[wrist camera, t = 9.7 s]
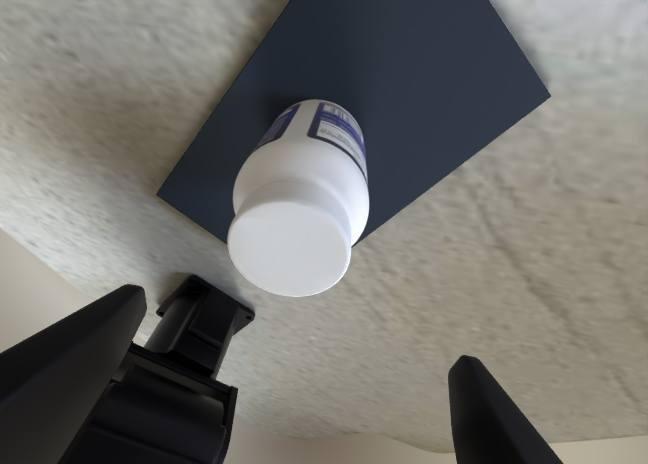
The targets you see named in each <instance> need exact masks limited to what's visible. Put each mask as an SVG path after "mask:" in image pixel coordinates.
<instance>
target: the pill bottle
mask: <svg viewBox="0 0 648 464" xmlns="http://www.w3.org/2000/svg"><path fill="white" fill-rule="evenodd" d="M233 206H234V211H235V215H236V216H235V218H234V219H233V221H232V223H231V226H230V228H229V232H228V238H227V244H228V251H229V255H230V257H231V260H232V262H233V264H234V265H235V267H236V268H237V270H238V271H239V272H240V273H241V274H242V275H243V276H244V277H245V278H246V279H247V280H248V281H250V282H251V283H252V284H254V285H256V286H257V287H259V288H261V289H263V290H265V291H268V292H270V293H273V294H277V295H282V296H290V297H302V296H309V295H314V294H317V293H320V292H322V291H325V290H327V289H329V288H330V287H332V286H333V285H334V284H336V283H337V282H338V281H339V280H340V279H341V278H342V276H343V275H344V273H345V272H346V270H347V268H348V265H349V262H350V257H351V246H352V245H353V244H354V243H355V242H356V241H357V240H358V238H359V237H360V235H361V234H362V232H363V230H364V228H365V225H366V222H367V219H368V213H369V190H368V182H367V168H366V156H365V144H364V139H363V135H362V132H361V129H360V127H359V125H358V123H357V122H356V120H355V119H354V118H353V117H352V115H351V114H350V113H349V112H347V111H346V110H345V109H344V108H342V107H341V106H339V105H337V104H335V103H332V102H329V101H325V100H316V99H315V100H306V101H302V102H299V103H296V104H294V105H292V106H291V107H289V108H288V109H286V110H285V111H284V112H283V113H282V114H280V115H279V117H278V118H277V119H276V120H275V122H274V123H273V124H272V126H271V127H270V128H269V130H268V131H267V133H266V134H265V135H264V137H263V138H262V139H261V141H260V142H259V143H258V145H257V146H256V148H255V149H254V150H253V152H252V153H251V154H250V156H249V157H248V158H247V160H246V161H245V163H244V164H243V166H242V168H241V170H240V172H239V174H238V176H237V178H236V181H235V185H234V190H233Z"/></svg>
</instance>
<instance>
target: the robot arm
mask: <svg viewBox="0 0 648 464" xmlns="http://www.w3.org/2000/svg"><path fill="white" fill-rule="evenodd" d="M146 310H147V304H146V298H145V292H144V289H143V288H142V287H141V286H136V285H132V284H126V285H123V286H121V287H120V288H118V289H116V290H114V291H112V292H111V293H109V294H107V295H105V296H103V297H101V298H100V299H98V300H96V301H94V302H92V303H91V304H89V305H87V306H85V307H83V308H81V309H80V310H78V311H76V312H74V313H73V314H71V315H69V316H67V317H65V318H63V319H62V320H60V321H58V322H56V323H54V324H52V325H51V326H49V327H47V328H45V329H44V330H42V331H40V332H38V333H36V334H34V335H33V336H31V337H29V338H27V339H25V340H23V341H22V342H20V343H18V344H16V345H14V346H13V347H11V348H9V349H7V350H5V351H3V352H2V353H0V464H223V462H224V459H225V456H226V453H227V450H228V446H229V442H230V436H231V431H232V424H233V418H234V412H235V406H236V399H237V393H238V388H236V387H234V386H228V385H226V384H224V383H221V382H219V381H217V380H215V379H216V377H217V374H218V372H219V369H220V367H221V364H222V361H223V359H224V356H225V354H226V351H227V348H228V346H229V343H230V341H231V338H232V336H233V335H235V334H236V333H237V332H238V331H240V330H241V329H242V328H244V327H245V326H246V325H248V324H249V323H250V322H252V321H253V320H254V317H255V313H254V312H253V311H252V310H250V309H249V308H247V307H245V306H244V305H242V304H241V303H239V302H238V301H236V300H234V299H233V298H231V297H230V296H228V295H227V294H225V293H223V292H222V291H220V290H219V289H217V288H216V287H214V286H212V285H211V284H209V283H208V282H206V281H204V280H203V279H201V278H200V277H198V276H196V275H189V276H188V277H187V278H186V279H185V280H184V281H183V282H182V284H181V285H180V286H179V287H178V288H177V289H176V290H175V291H174V292H173V293H172V294H171V295H170V296H169V297H168V298H167V299H166V300H165V301H164V302H163V304H162V305H161V306H160V307H159V308H158V309H157V311H156V314H157V315H158V316H160V317H162V319H161V321H160V322H159V324H158V325H157V327H156V329H155V330H154V332H153V333H152V335H151V336H150V338H149V340H148V341H147V343H146V344H145V346H144V347H141V346H139V345H137V344H135V343H133V341H132V340H133V338H134V336H135V334H136V332H137V330H138V328H139V326H140V324H141V322H142V320H143V318H144V316H145V314H146ZM448 384H449V398H450V413H451V426H452V435H453V442H454V448H455V453H456V460H457V464H563V462H562V461H561V460H560V459H559V458H558V456H557V455H556V454H555V453H554V451H553V450H552V449H551V448H550V446H549V445H548V444H547V443H546V441H545V440H544V439H543V438H542V437H541V435H540V434H539V433H538V432H537V430H536V429H535V428H534V427H533V425H532V424H531V423H530V422H529V420H528V419H527V418H526V417H525V416H524V414H523V413H522V412H521V411H520V409H519V408H518V407H517V406H516V404H515V403H514V402H513V401H512V399H511V398H510V397H509V396H508V395H507V393H506V392H505V391H504V390H503V388H502V387H501V386H500V385H499V383H498V382H497V381H496V380H495V378H494V377H493V376H492V375H491V374H490V372H489V371H488V370H487V369H486V367H485V366H484V365H483V364H482V362H481V361H480V360H479V359H478V358H476V357H472V356H467V355H462V356H461V357H460V358H459V359H458V360H457V361H456V363H455V364H454V365H453V366H452V368H451V369H450V371H449V374H448Z"/></svg>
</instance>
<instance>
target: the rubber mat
mask: <svg viewBox="0 0 648 464" xmlns="http://www.w3.org/2000/svg"><path fill="white" fill-rule="evenodd" d="M550 97H551V95H550V93H549V92H548V90H547V89H546V87H545V86H544V84H543V83H542V81H541V80H540V78H539V77H538V75H537V73H536V72H535V70H534V69H533V67H532V66H531V64H530V63H529V61H528V60H527V58H526V57H525V55H524V54H523V52H522V51H521V49H520V47H519V46H518V44H517V43H516V41H515V40H514V38H513V37H512V35H511V34H510V32H509V31H508V29H507V28H506V26H505V25H504V23H503V21H502V20H501V18H500V17H499V15H498V14H497V12H496V11H495V9H494V8H493V6H492V5H491V3H490V2H489V0H290V2H289V3H288V4H287V6H286V7H285V9H284V10H283V12H282V13H281V15H280V16H279V17H278V19H277V20H276V22H275V23H274V25H273V26H272V28H271V29H270V30H269V32H268V33H267V35H266V36H265V38H264V39H263V41H262V42H261V43H260V45H259V46H258V48H257V49H256V51H255V52H254V54H253V55H252V56H251V58H250V59H249V61H248V62H247V64H246V65H245V67H244V68H243V69H242V71H241V72H240V74H239V75H238V77H237V78H236V80H235V81H234V83H233V84H232V85H231V87H230V88H229V90H228V91H227V93H226V94H225V96H224V97H223V98H222V100H221V101H220V103H219V104H218V106H217V107H216V109H215V110H214V111H213V113H212V114H211V116H210V117H209V119H208V120H207V122H206V123H205V124H204V126H203V127H202V129H201V130H200V132H199V133H198V135H197V136H196V137H195V139H194V140H193V142H192V143H191V145H190V146H189V148H188V149H187V150H186V152H185V153H184V155H183V156H182V158H181V159H180V161H179V162H178V163H177V165H176V166H175V168H174V169H173V171H172V172H171V174H170V175H169V176H168V178H167V179H166V181H165V182H164V184H163V185H162V187H161V188H160V189H159V191H158V192H157V194H156V195H157V196H159V197H160V198H161V199H163V200H164V201H166V202H167V203H169V204H170V205H171V206H173V207H174V208H176V209H177V210H179V211H180V212H181V213H183V214H184V215H186V216H187V217H189V218H190V219H191V220H193V221H194V222H196V223H197V224H199V225H200V226H202V227H203V228H204V229H206V230H207V231H209V232H210V233H212V234H213V235H214V236H216V237H217V238H219V239H220V240H222V241H223V242H224V243H226V244H227V238H228V232H229V228H230V226H231V223H232V221H233V219H234V218H235V216H236V215H235V211H234V206H233V190H234V185H235V181H236V178H237V176H238V174H239V172H240V170H241V168H242V166H243V164H244V163H245V161H246V160H247V158H248V157H249V156H250V154H251V153H252V152H253V150H254V149H255V148H256V146H257V145H258V143H259V142H260V141H261V139H262V138H263V137H264V135H265V134H266V133H267V131H268V130H269V128H270V127H271V126H272V124H273V123H274V122H275V120H276V119H277V118H278V117H279V115H280V114H282V113H283V112H284V111H285V110H286V109H288V108H289V107H291V106H292V105H294V104H296V103H299V102H302V101H306V100H315V99H316V100H325V101H329V102H332V103H335V104H337V105H339V106H341V107H342V108H344V109H345V110H346V111H347V112H349V113H350V114H351V115H352V117H353V118H354V119H355V120H356V122H357V123H358V125H359V127H360V129H361V132H362V135H363V139H364V144H365V156H366V168H367V182H368V190H369V213H368V219H367V222H366V225H365V228H364V230H363V232H362V234H361V235H360V237H359V238H358V240H357V241H356V242H355V243H354V244H353V245H352V246H351V248H352V247H353V246H355V245H356V244H357V243H359V242H360V241H361V240H363V239H364V238H365V237H366V236H368V235H369V234H370V233H372V232H373V231H374V230H376V229H377V228H378V227H380V226H381V225H382V224H384V223H385V222H386V221H388V220H389V219H390V218H392V217H393V216H394V215H396V214H397V213H398V212H399V211H401V210H402V209H403V208H405V207H406V206H407V205H409V204H410V203H411V202H413V201H414V200H415V199H417V198H418V197H419V196H421V195H422V194H423V193H425V192H426V191H427V190H428V189H430V188H431V187H432V186H434V185H435V184H436V183H438V182H439V181H440V180H442V179H443V178H444V177H446V176H447V175H448V174H450V173H451V172H452V171H454V170H455V169H456V168H458V167H459V166H460V165H461V164H463V163H464V162H465V161H467V160H468V159H469V158H471V157H472V156H473V155H475V154H476V153H477V152H479V151H480V150H481V149H483V148H484V147H485V146H487V145H488V144H489V143H490V142H492V141H493V140H494V139H496V138H497V137H498V136H500V135H501V134H502V133H504V132H505V131H506V130H508V129H509V128H510V127H512V126H513V125H514V124H516V123H517V122H518V121H520V120H521V119H522V118H523V117H525V116H526V115H527V114H529V113H530V112H531V111H533V110H534V109H535V108H537V107H538V106H539V105H541V104H542V103H543V102H545V101H546V100H547V99H549V98H550ZM227 245H228V244H227Z"/></svg>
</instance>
